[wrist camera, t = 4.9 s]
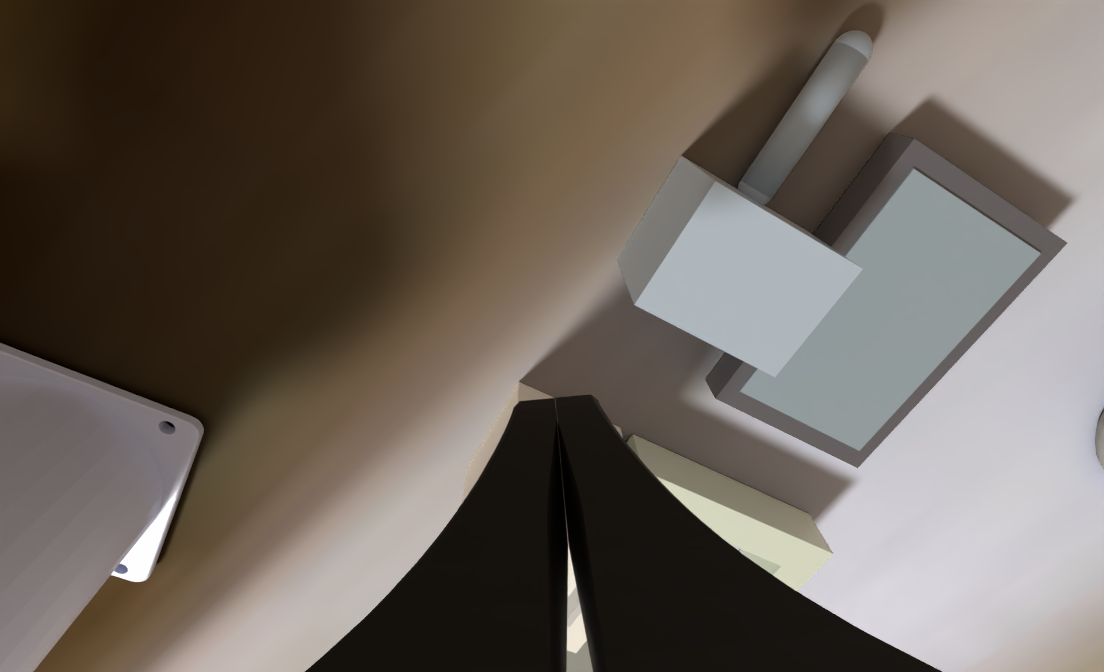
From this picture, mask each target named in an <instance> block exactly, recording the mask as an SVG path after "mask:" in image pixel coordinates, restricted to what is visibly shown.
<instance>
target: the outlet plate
mask: <svg viewBox="0 0 1104 672" xmlns="http://www.w3.org/2000/svg"><path fill="white" fill-rule="evenodd" d="M627 444H628V445H629V447H630V448H631V449H632V450H633V451H634V452H635V454H636V455H637V456H638V457H639V458H640V459H641V461H642V462H643V463H644V464H645V465H646V466H647V468H648V469H649V470H650V471H651V472H652V473H653V474H654V475H655V476H656V477H657V478H658V480H659V481H660V482H661V483H662V484H663V485H664V486H665V487H666V488H667V489H668V490H669V491H670V492H671V493H672V494H673V495H674V496H675V497H676V498H677V499H678V500H679V501H680V502H682V503H683V504H684V505H685V506H686V507H687V508H688V509H689V510H690V511H691V512H692V513H693V514H694V515H696V516H697V517H698V518H699V519H700V520H701V521H702V522H704V523H705V524H706V525H707V526H708V527H709V528H711V529H712V530H713V531H714V532H715V533H717V534H718V535H719V536H720V537H721V538H723V539H724V540H725V541H726V542H728V543H729V544H730V545H733V546H735V547H738V548H740V550H739V552H741V553H742V554H743V555H744V556H746V557H747V558H749V559H750V560H752V561H753V562H755V563H756V564H757V565H759V566H760V567H762V568H763V569H765V570H766V571H768V572H769V573H771V574H772V575H773V576H775V577H776V578H778V579H779V580H781V581H782V582H784V583H785V584H786V585H788V586H789V587H791V588H792V589H794V590H795V591H798V589H799V588H800V587H801V586H802V585H803V584H804V583H805V582H806V581H807V580H808V579H809V578H810V577H811V576H812V575H813V574H814V573H815V572H816V571H817V570H818V569H819V568H820V567H821V566H822V565H823V564H824V563H825V562H826V561H827V560H828V559H829V558H830V557H831V556H832V555H833V552H832V551H831V549H830V547H829V546H828V544H827V542H826V541H825V539H824V537H823V536H822V534H821V533H820V531H819V529H818V528H817V526H816V524H815V523H814V521H813V519H812V518H811V516H810V514H808V513H806V512H804V511H801V510H799V509H797V508H795V507H793V506H790V505H788V504H786V503H784V502H782V501H779V500H777V499H775V498H773V497H771V496H768V495H766V494H764V493H762V492H760V491H757V490H755V489H753V488H751V487H749V486H746V485H744V484H742V483H740V482H737V481H735V480H733V479H731V478H729V477H726V476H724V475H722V474H720V473H718V472H715V471H713V470H711V469H709V468H707V467H704V466H702V465H700V464H698V463H696V462H693V461H691V460H689V459H687V458H684V457H682V456H680V455H678V454H676V453H673V452H671V451H669V450H667V449H665V448H662V447H660V446H658V445H656V444H654V443H651V442H649V441H647V440H645V439H643V438H640V437H638V436H636V435H634V434H633V435H632V436H631V437H630V439H629V440H628V441H627ZM566 672H593V669H592V664H591V659H590V654H589V649H588V643H587V641H586V642H585V643H584V644H583V646H582V647H581V648H580V649H579V650H578V652H577V653H574V652H571V651H568V650H567V669H566Z"/></svg>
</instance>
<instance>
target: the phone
mask: <svg viewBox="0 0 1104 672" xmlns="http://www.w3.org/2000/svg"><path fill="white" fill-rule="evenodd" d="M814 236H815V237H817V238H818V239H820V240H821V241H823V242H824V243H826V244H827V245H829V246H830V247H832V248H833V249H834V250H836V251H837V252H839V253H840V254H842V255H843V256H845V257H846V258H848V259H849V260H851V261H852V262H854V263H855V264H857V265H858V266H860V267H861V268H863V270H862V271H861V272H860V273H859V275H858V276H857V277H856V278H855V279H854V281H853V282H852V283H851V284H850V286H849V287H848V288H847V289H846V291H845V292H844V293H843V294H842V295H841V297H840V298H839V299H838V300H837V302H836V303H835V304H834V305H833V307H832V308H831V309H830V310H829V312H828V313H827V314H826V315H825V316H824V318H823V319H822V320H821V321H820V323H819V324H818V325H817V326H816V328H815V329H814V330H813V331H812V332H811V334H810V335H809V336H808V337H807V339H806V340H805V341H804V342H803V344H802V345H801V346H800V347H799V348H798V350H797V351H796V352H795V353H794V355H793V356H792V357H791V358H790V360H789V361H788V362H787V363H786V364H785V366H784V367H783V368H782V369H781V371H780V372H779V373H778V374H777V376H776V377H773V376H771V375H769V374H767V373H766V372H764V371H762V370H760V369H758V368H756V367H754V366H752V365H750V364H748V363H746V362H744V361H742V360H740V359H738V358H736V357H734V356H732V355H731V354H729V353H727V352H726V353H725V354H724V355H723V357H722V358H721V359H720V361H719V362H718V363H717V365H716V366H715V367H714V369H713V370H712V371H711V373H710V374H709V375H708V377H707V378H706V379H705V380H706V382H707V384H708V386H709V387H710V389H711V391H712V393H713V395H714V397H715V398H716V399H718V400H720V401H722V402H724V403H726V404H728V405H730V406H732V407H734V408H736V409H738V410H740V411H742V412H744V413H746V414H748V415H750V416H752V417H754V418H757V419H759V420H761V421H763V422H765V423H767V424H769V425H771V426H773V427H775V428H777V429H779V430H781V431H783V432H785V433H787V434H789V435H791V436H793V437H795V438H797V439H799V440H802V441H804V442H806V443H808V444H810V445H812V446H814V447H816V448H818V449H820V450H822V451H824V452H826V453H828V454H830V455H832V456H834V457H836V458H838V459H840V460H842V461H844V462H847V463H849V464H851V465H853V466H855V467H857V468H858V467H859V466H860V465H861V464H862V463H863V462H864V461H865V460H866V459H867V457H868V456H869V455H870V454H871V453H872V452H873V451H874V450H875V449H876V448H877V447H878V446H879V445H880V443H881V442H882V441H883V440H884V439H885V438H886V437H887V436H888V435H889V434H890V433H891V432H892V431H893V430H894V428H895V427H896V426H897V425H898V424H899V423H900V422H901V421H902V420H903V419H904V418H905V417H906V416H907V415H908V413H909V412H910V411H911V410H912V409H913V408H914V407H915V406H916V405H917V404H918V403H919V402H920V401H921V400H922V398H923V397H924V396H925V395H926V394H927V393H928V392H929V391H930V390H931V389H932V388H933V387H934V386H935V385H936V383H937V382H938V381H939V380H940V379H941V378H942V377H943V376H944V375H945V374H946V373H947V372H948V371H949V369H950V368H951V367H952V366H953V365H954V364H955V363H956V362H957V361H958V360H959V359H960V358H961V357H962V356H963V354H964V353H965V352H966V351H967V350H968V349H969V348H970V347H971V346H972V345H973V344H974V343H975V342H976V341H977V339H978V338H979V337H980V336H981V335H982V334H983V333H984V332H985V331H986V330H987V329H988V328H989V327H990V326H991V324H992V323H993V322H994V321H995V320H996V319H997V318H998V317H999V316H1000V315H1001V314H1002V313H1003V312H1004V310H1005V309H1006V308H1007V307H1008V306H1009V305H1010V304H1011V303H1012V302H1013V301H1014V300H1015V299H1016V298H1017V297H1018V295H1019V294H1020V293H1021V292H1022V291H1023V290H1024V289H1025V288H1026V287H1027V286H1028V285H1029V284H1030V283H1031V282H1032V280H1033V279H1034V278H1035V277H1036V276H1037V275H1038V274H1039V273H1040V272H1041V271H1042V270H1043V269H1044V268H1045V267H1046V265H1047V264H1048V263H1049V262H1050V261H1051V260H1052V259H1053V258H1054V257H1055V256H1056V255H1057V254H1058V253H1059V252H1060V250H1061V249H1062V248H1063V247H1064V246H1065V245H1066V244H1067V242H1065V241H1064V240H1062V239H1061V238H1059V237H1058V236H1057V235H1055V234H1054V233H1052V232H1051V231H1049V230H1048V229H1046V228H1045V227H1043V226H1042V225H1040V224H1039V223H1038V222H1036V221H1035V220H1033V219H1032V218H1030V217H1029V216H1027V215H1026V214H1024V213H1023V212H1021V211H1020V210H1019V209H1017V208H1016V207H1014V206H1013V205H1011V204H1010V203H1008V202H1007V201H1005V200H1004V199H1002V198H1001V197H999V196H998V195H997V194H995V193H994V192H992V191H991V190H989V189H988V188H986V187H985V186H983V185H982V184H980V183H979V182H978V181H976V180H975V179H973V178H972V177H970V176H969V175H967V174H966V173H964V172H963V171H961V170H960V169H959V168H957V167H956V166H954V165H953V164H951V163H950V162H948V161H947V160H945V159H944V158H942V157H941V156H940V155H938V154H937V153H935V152H934V151H932V150H931V149H929V148H928V147H926V146H925V145H923V144H922V143H920V142H919V141H918V140H916V139H915V138H910V137H906V136H902V135H897V134H893V133H889V134H888V135H887V137H886V138H885V139H884V141H883V142H882V143H881V145H880V146H879V147H878V149H877V150H876V151H875V153H874V154H873V155H872V157H871V158H870V160H869V161H868V162H867V164H866V165H865V166H864V168H863V169H862V170H861V172H860V173H859V174H858V176H857V177H856V178H855V180H854V181H853V182H852V184H851V185H850V186H849V188H848V189H847V190H846V192H845V193H844V194H843V196H842V197H841V198H840V200H839V201H838V202H837V204H836V205H835V206H834V208H833V209H832V210H831V212H830V213H829V214H828V216H827V217H826V218H825V220H824V221H823V223H822V224H821V225H820V227H819V228H818V229H817V231H816V232H815V233H814Z"/></svg>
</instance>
